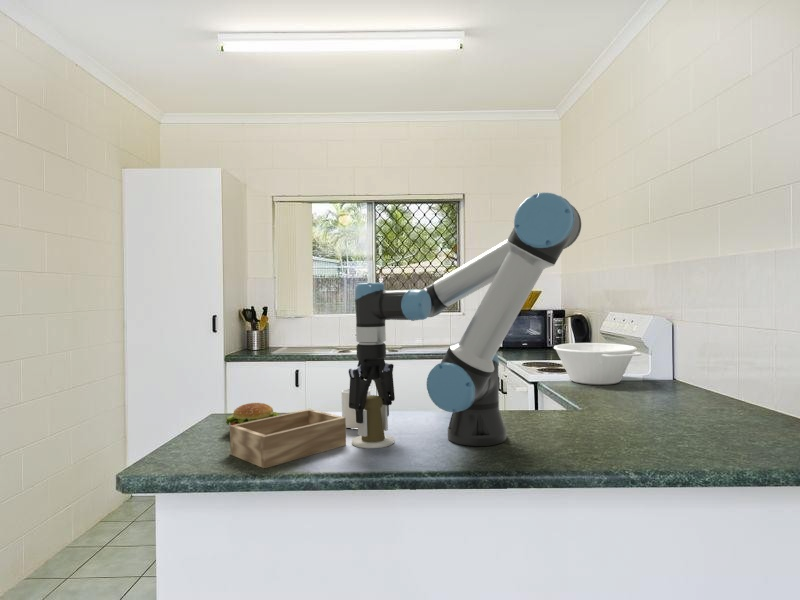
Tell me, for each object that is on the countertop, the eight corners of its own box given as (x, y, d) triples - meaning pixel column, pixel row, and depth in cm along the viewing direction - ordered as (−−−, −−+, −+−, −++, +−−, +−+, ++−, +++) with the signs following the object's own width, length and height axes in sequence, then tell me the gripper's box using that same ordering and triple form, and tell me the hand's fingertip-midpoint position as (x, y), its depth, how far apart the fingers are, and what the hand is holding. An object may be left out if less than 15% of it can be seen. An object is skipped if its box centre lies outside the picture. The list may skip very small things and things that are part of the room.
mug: (377, 431, 147) (376, 394, 147) (347, 434, 145) (346, 396, 145) (367, 421, 159) (366, 387, 159) (340, 424, 157) (339, 389, 156)
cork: (361, 435, 140) (360, 394, 140) (384, 434, 140) (383, 393, 140) (361, 442, 134) (360, 398, 134) (385, 441, 134) (384, 397, 134)
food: (249, 423, 160) (249, 397, 159) (287, 428, 153) (287, 400, 153) (215, 435, 147) (214, 406, 147) (255, 440, 141) (254, 410, 141)
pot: (534, 376, 232) (533, 344, 232) (597, 372, 241) (596, 340, 241) (591, 393, 194) (591, 354, 194) (664, 387, 203) (663, 349, 202)
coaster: (403, 441, 137) (403, 439, 137) (371, 451, 129) (371, 448, 129) (374, 433, 145) (374, 431, 145) (342, 442, 137) (342, 440, 137)
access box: (346, 445, 135) (345, 417, 135) (264, 468, 118) (263, 437, 118) (309, 434, 146) (309, 408, 146) (230, 454, 129) (229, 425, 129)
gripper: (388, 339, 146) (389, 422, 147) (331, 345, 132) (334, 437, 133) (407, 340, 141) (409, 427, 141) (351, 347, 127) (353, 443, 128)
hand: (373, 432), depth 137 cm, fingers open, 6 cm apart
